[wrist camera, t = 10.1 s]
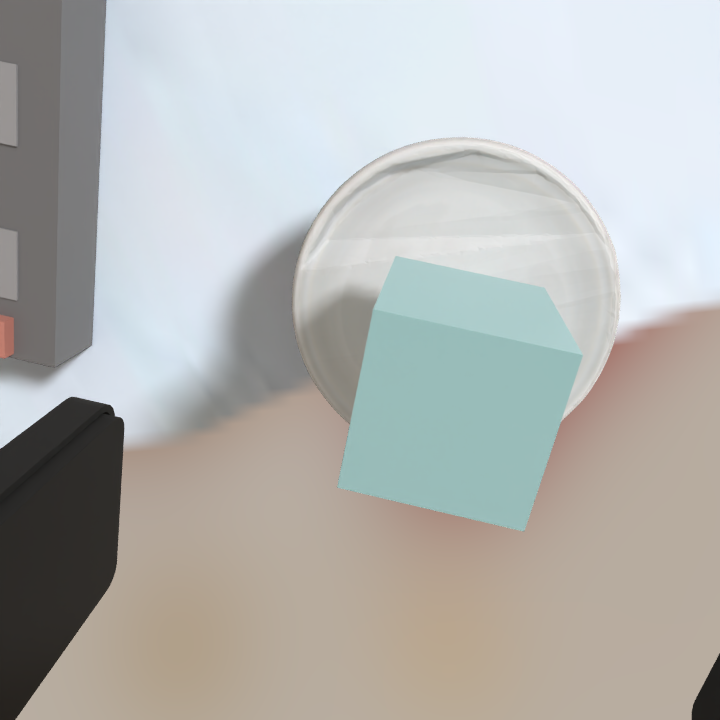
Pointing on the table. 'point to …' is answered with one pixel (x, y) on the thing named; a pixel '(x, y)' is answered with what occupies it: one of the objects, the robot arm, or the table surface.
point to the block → (459, 393)
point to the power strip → (49, 175)
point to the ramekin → (451, 250)
